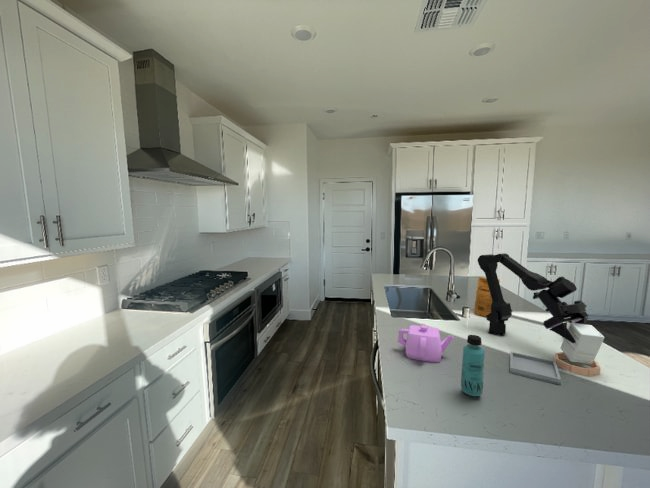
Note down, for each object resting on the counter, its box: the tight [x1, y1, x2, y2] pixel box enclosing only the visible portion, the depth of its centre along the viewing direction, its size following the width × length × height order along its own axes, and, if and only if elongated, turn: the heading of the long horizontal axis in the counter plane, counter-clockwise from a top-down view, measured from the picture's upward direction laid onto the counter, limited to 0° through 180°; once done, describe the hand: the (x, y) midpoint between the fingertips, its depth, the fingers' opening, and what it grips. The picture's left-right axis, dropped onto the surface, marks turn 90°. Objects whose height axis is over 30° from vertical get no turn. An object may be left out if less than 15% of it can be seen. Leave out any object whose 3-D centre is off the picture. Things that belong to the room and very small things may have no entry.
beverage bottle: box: [460, 334, 486, 397], centre depth 92 cm, size 6×7×20 cm
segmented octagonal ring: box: [553, 351, 601, 377], centre depth 109 cm, size 13×13×2 cm
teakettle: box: [397, 323, 454, 363], centre depth 120 cm, size 17×17×12 cm
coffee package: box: [473, 276, 500, 318], centre depth 164 cm, size 10×12×22 cm
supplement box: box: [560, 323, 605, 365], centre depth 107 cm, size 7×7×13 cm
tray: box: [509, 351, 562, 386], centre depth 108 cm, size 15×15×2 cm
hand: (582, 340), depth 107 cm, fingers closed on supplement box, 9 cm apart
